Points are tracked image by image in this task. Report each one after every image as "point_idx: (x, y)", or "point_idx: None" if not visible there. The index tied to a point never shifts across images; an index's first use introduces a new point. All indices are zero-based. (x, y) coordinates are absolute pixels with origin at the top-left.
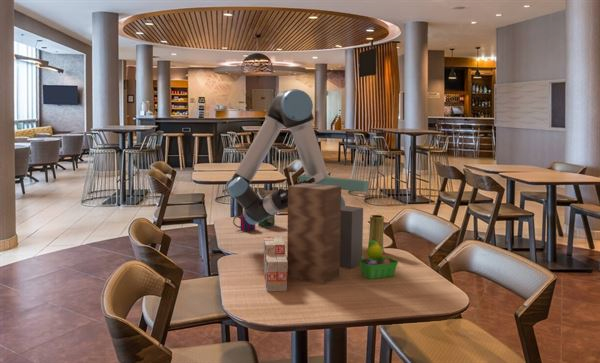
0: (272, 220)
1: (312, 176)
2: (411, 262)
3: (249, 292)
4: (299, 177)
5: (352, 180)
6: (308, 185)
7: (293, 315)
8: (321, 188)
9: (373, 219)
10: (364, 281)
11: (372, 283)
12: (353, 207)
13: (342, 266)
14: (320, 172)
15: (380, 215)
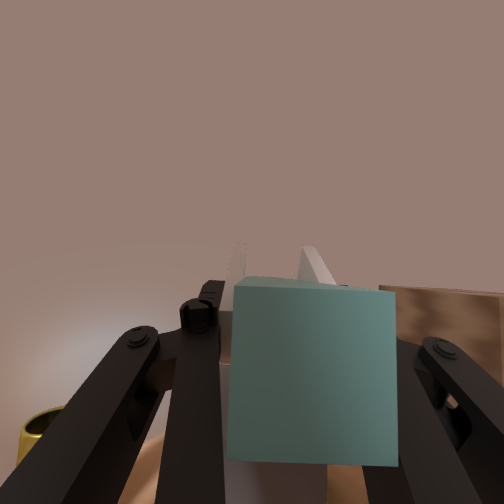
0: None
1: (331, 276)
2: (161, 447)
3: None
4: (390, 317)
5: (274, 277)
6: (497, 294)
7: None
8: (465, 290)
9: None
10: (345, 481)
11: (341, 465)
12: (224, 376)
13: None
14: (312, 249)
15: (38, 415)
